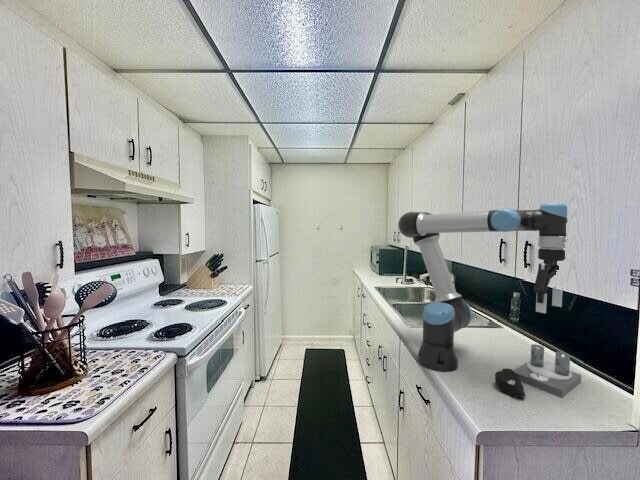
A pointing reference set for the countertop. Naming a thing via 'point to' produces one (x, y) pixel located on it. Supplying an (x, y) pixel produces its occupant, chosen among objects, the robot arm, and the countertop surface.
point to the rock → (509, 383)
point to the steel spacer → (562, 363)
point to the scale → (548, 378)
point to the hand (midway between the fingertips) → (549, 309)
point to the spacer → (537, 355)
